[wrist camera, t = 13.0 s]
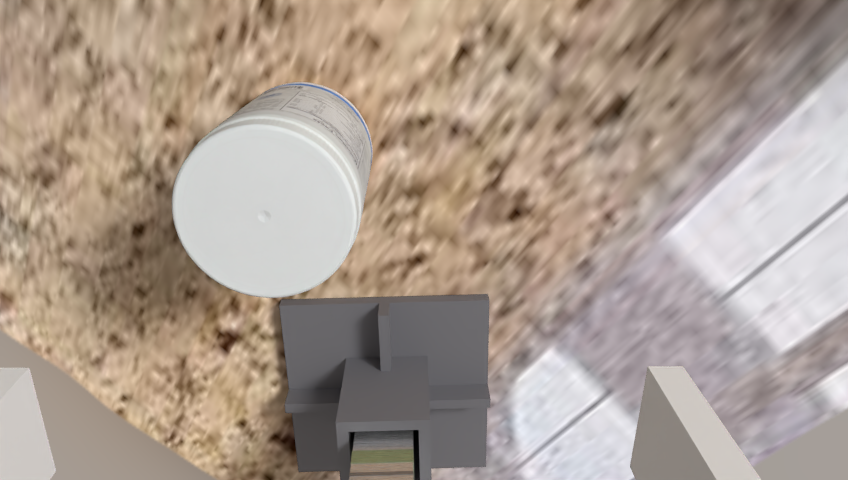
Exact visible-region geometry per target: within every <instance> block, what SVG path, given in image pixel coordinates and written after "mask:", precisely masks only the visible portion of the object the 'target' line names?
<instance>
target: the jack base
mask: <svg viewBox="0 0 848 480" xmlns="http://www.w3.org/2000/svg"><path fill="white" fill-rule="evenodd" d="M279 307H280V316H281V325H282V333H283V342H284V350H285V359H286V367H287V376H288V385H289V391H288V395H287V398H286V402H285V412H286V413H292V419H293V427H294V436H295V445H296V453H297V462H298V470H299V472H313V471H340V479H341V480H349V473H350V468H351V456H352V451H353V444H354V436H355V432H362V431H398V430H413V436H414V480H431V468H454V467H486V432H487V408H489V407H490V395H489V389H488V384H487V383H488V334H489V297H488V294H478V295H440V296H401V297H362V298H324V299H285V300H281V303H280V305H279Z"/></svg>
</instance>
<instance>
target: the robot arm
mask: <svg viewBox="0 0 848 480" xmlns="http://www.w3.org/2000/svg"><path fill="white" fill-rule="evenodd" d="M630 468H631V470H632V472H633V474H634V477H635V479H636V480H761V479H760V477H759V476H758V474H757V473H756V471H755V470H754V468H753V467H752V466H751V464H750V463H749V461H748V460H747V458H746V457H745V455H744V454H743V453H742V451H741V450H740V448H739V447H738V445H737V444H736V442H735V441H734V440H733V438H732V437H731V435H730V434H729V432H728V431H727V429H726V428H725V427H724V425H723V424H722V422H721V421H720V419H719V418H718V416H717V415H716V414H715V412H714V411H713V409H712V408H711V406H710V405H709V404H708V402H707V401H706V399H705V398H704V396H703V395H702V393H701V392H700V391H699V389H698V388H697V386H696V385H695V383H694V382H693V380H692V379H691V378H690V376H689V375H688V373H687V372H686V370H685V369H684V367H683V366H648V368H647V374H646V379H645V385H644V391H643V396H642V402H641V408H640V413H639V419H638V424H637V430H636V436H635V441H634V447H633V453H632V458H631V464H630ZM55 472H56V469H55V465H54V461H53V457H52V453H51V449H50V446H49V442H48V438H47V434H46V431H45V426H44V423H43V419H42V415H41V411H40V407H39V403H38V400H37V395H36V392H35V388H34V384H33V380H32V376H31V372H30V369H29V368H0V480H50V479H51V477H52V476H53V475H54V473H55Z"/></svg>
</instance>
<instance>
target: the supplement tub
mask: <svg viewBox="0 0 848 480" xmlns="http://www.w3.org/2000/svg"><path fill="white" fill-rule="evenodd" d="M372 153H373V152H372V142H371V137H370V133H369V130H368V127H367V125H366V123H365V121H364V119H363V117H362V116H361V114H360V113H359V111H358V110H357V109H356V108H355V106H354V105H353V104H352V103H351V102H350V101H349V100H347V99H346V98H345V97H344V96H342V95H341V94H339V93H338V92H336V91H334V90H332V89H330V88H327V87H325V86H322V85H318V84H314V83H308V82H293V83H287V84H282V85H279V86H276V87H274V88H271V89H269V90H267V91H266V92H264V93H263V94H261V95H260V96H258V97H257V98H255V99H254V100H253V101H251V102H250V103H248V104H247V105H246V106H244V107H243V108H242V109H240V110H239V111H237V112H236V113H235V114H233V115H232V116H231V117H229V118H228V119H227V120H225V121H224V122H223V123H221V124H220V125H219V126H217V127H216V128H215V129H213V130H212V131H211V132H210V133H209V134H207V135H206V136H205V137H204V138H203V139H202V140H201V141H200V142H199V143H198V144H197V145H196V146H195V147H194V149H193V150H192V152H191V153H190V154H189V156H188V157H187V159H186V160H185V161H184V163H183V165H182V166H181V168H180V170H179V172H178V175H177V177H176V180H175V184H174V188H173V194H172V215H173V220H174V225H175V228H176V231H177V234H178V237H179V239H180V241H181V243H182V245H183V247H184V249H185V250H186V252H187V253H188V255H189V256H190V258H191V259H192V260H193V261H194V262H195V264H196V265H197V266H198V267H199V268H200V269H201V270H202V271H203V272H205V273H206V274H207V275H208V276H209V277H211V278H212V279H214V280H215V281H217V282H218V283H220V284H221V285H223V286H225V287H227V288H229V289H232V290H234V291H237V292H240V293H243V294H246V295H251V296H256V297H266V298H278V297H287V296H292V295H296V294H300V293H303V292H305V291H308V290H310V289H312V288H314V287H316V286H318V285H319V284H321V283H322V282H324V281H325V280H327V279H328V278H329V277H330V276H331V275H332V274H333V273H334V272H335V271H336V270H337V269H338V268H339V267H340V266H341V264H342V263H343V261H344V260H345V258H346V257H347V255H348V253H349V251H350V249H351V247H352V246H353V243H354V241H355V239H356V236H357V233H358V230H359V226H360V221H361V217H362V212H363V206H364V201H365V195H366V190H367V185H368V180H369V174H370V170H371V163H372Z"/></svg>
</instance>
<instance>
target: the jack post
mask: <svg viewBox="0 0 848 480" xmlns="http://www.w3.org/2000/svg"><path fill="white" fill-rule="evenodd" d="M349 480H414V436H413V430H398V431H362V432H355V436H354V444H353V451H352V456H351V468H350V473H349Z"/></svg>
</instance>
